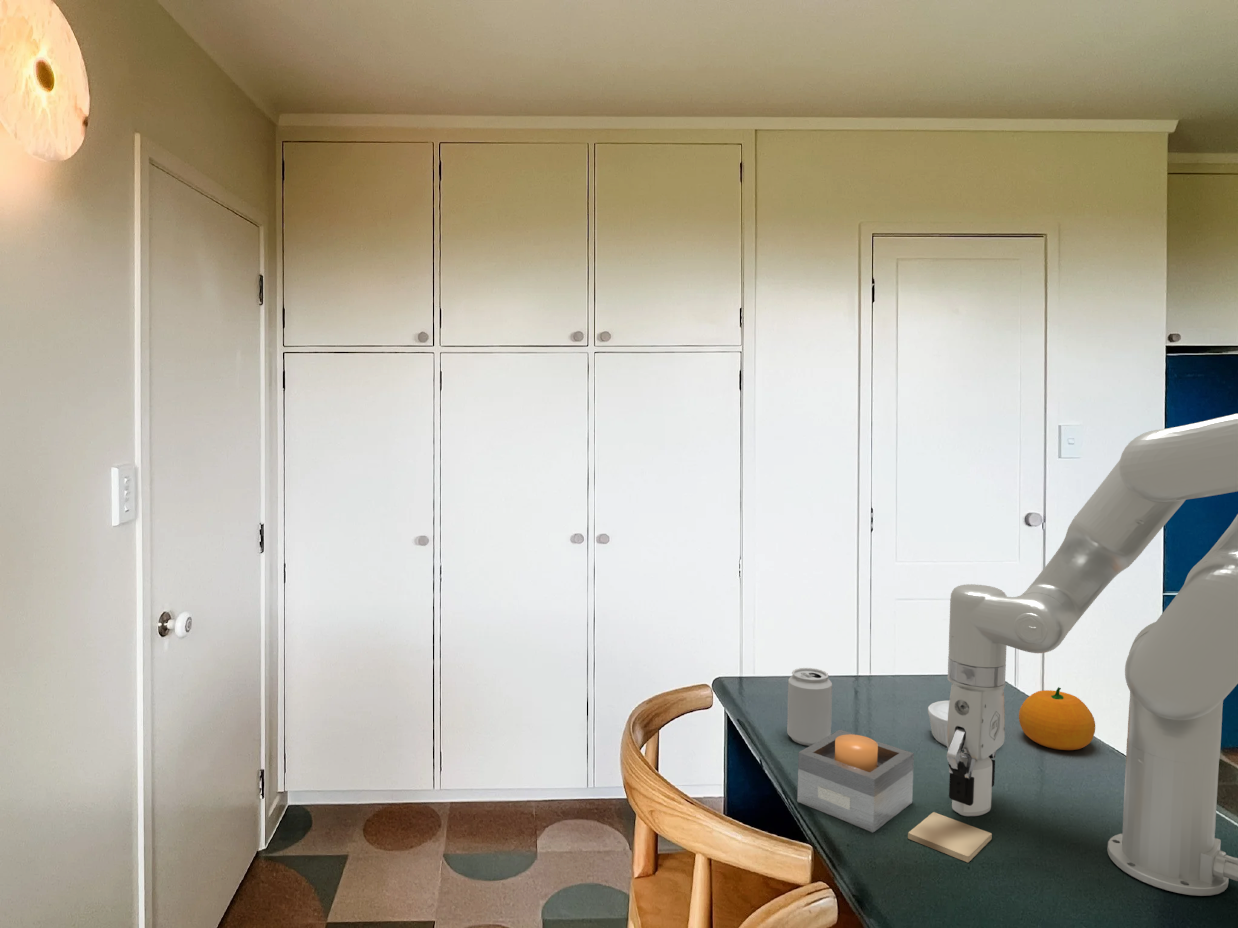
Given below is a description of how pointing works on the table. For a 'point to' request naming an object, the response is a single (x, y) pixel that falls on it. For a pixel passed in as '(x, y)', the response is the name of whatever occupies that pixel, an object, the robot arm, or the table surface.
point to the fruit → (1057, 720)
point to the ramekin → (939, 720)
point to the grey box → (855, 784)
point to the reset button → (857, 751)
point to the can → (809, 706)
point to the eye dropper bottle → (977, 789)
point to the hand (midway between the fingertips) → (971, 791)
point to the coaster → (950, 836)
